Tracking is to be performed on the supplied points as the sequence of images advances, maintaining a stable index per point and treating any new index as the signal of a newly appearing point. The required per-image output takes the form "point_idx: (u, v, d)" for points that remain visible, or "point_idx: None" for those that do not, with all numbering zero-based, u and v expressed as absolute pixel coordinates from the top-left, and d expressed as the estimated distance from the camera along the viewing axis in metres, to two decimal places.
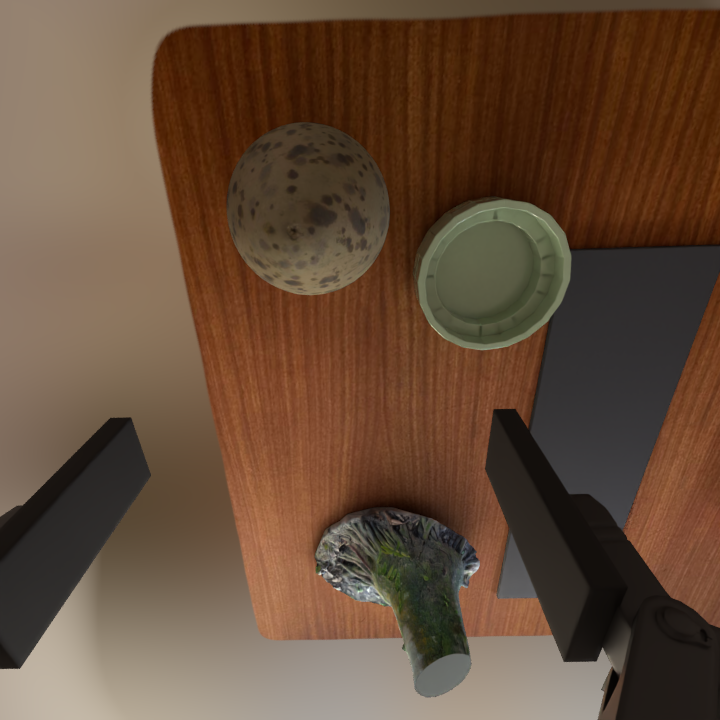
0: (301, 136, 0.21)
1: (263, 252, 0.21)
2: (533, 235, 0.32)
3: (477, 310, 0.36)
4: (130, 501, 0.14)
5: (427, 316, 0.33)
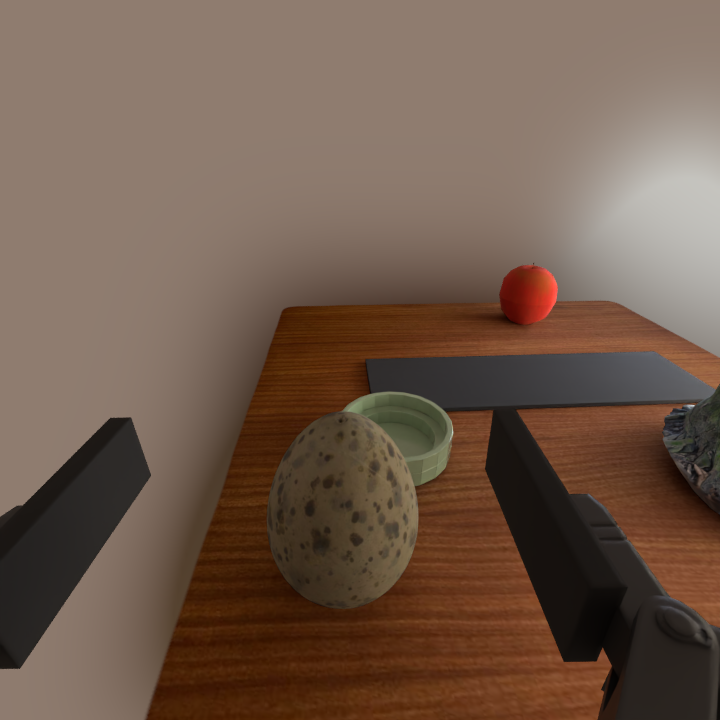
0: (277, 470, 0.27)
1: (360, 449, 0.23)
2: None
3: (425, 445, 0.44)
4: (130, 501, 0.14)
5: (431, 454, 0.38)
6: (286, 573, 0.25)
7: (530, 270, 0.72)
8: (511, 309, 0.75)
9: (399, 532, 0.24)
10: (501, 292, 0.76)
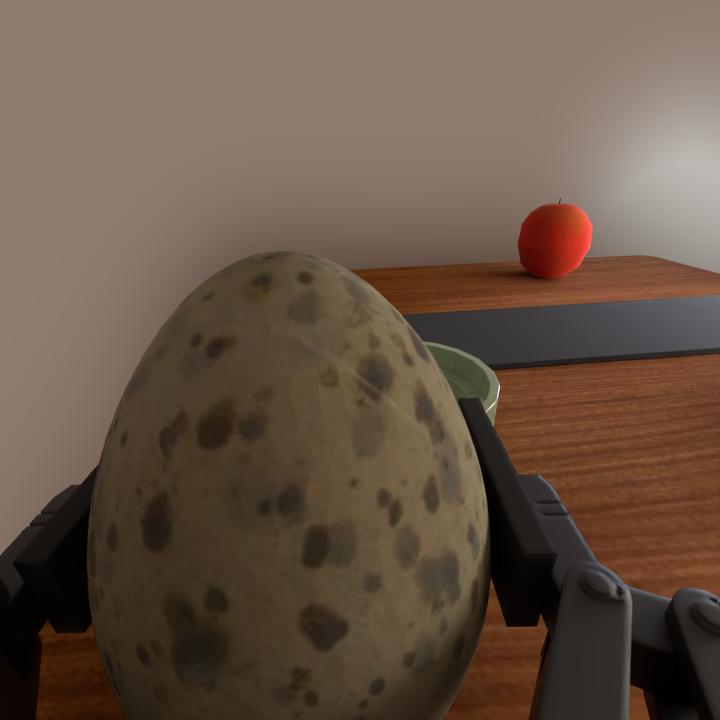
0: None
1: (328, 320, 0.07)
2: None
3: None
4: None
5: None
6: None
7: (557, 206, 0.57)
8: (535, 259, 0.59)
9: (461, 583, 0.08)
10: (520, 239, 0.61)
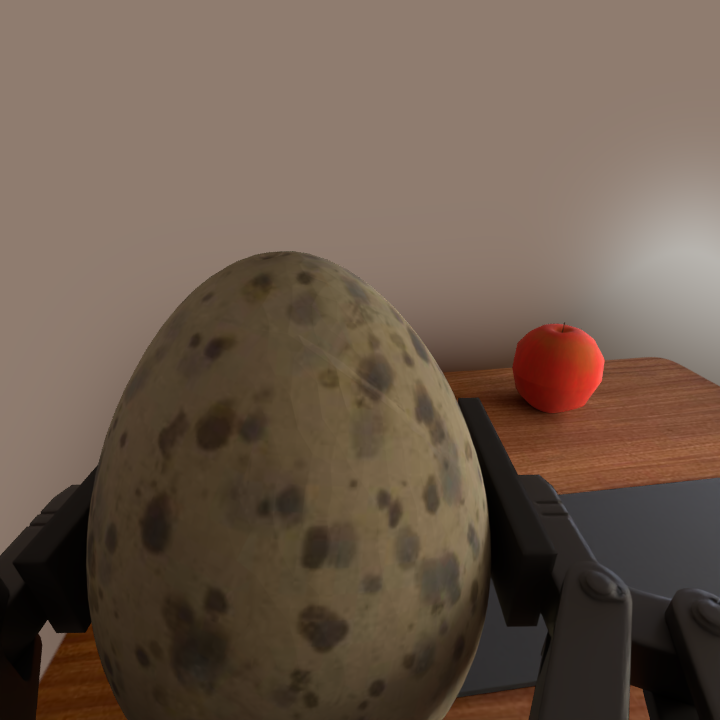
0: None
1: (327, 320, 0.07)
2: None
3: None
4: None
5: None
6: None
7: (561, 336, 0.46)
8: (534, 394, 0.48)
9: (461, 584, 0.08)
10: (516, 366, 0.50)
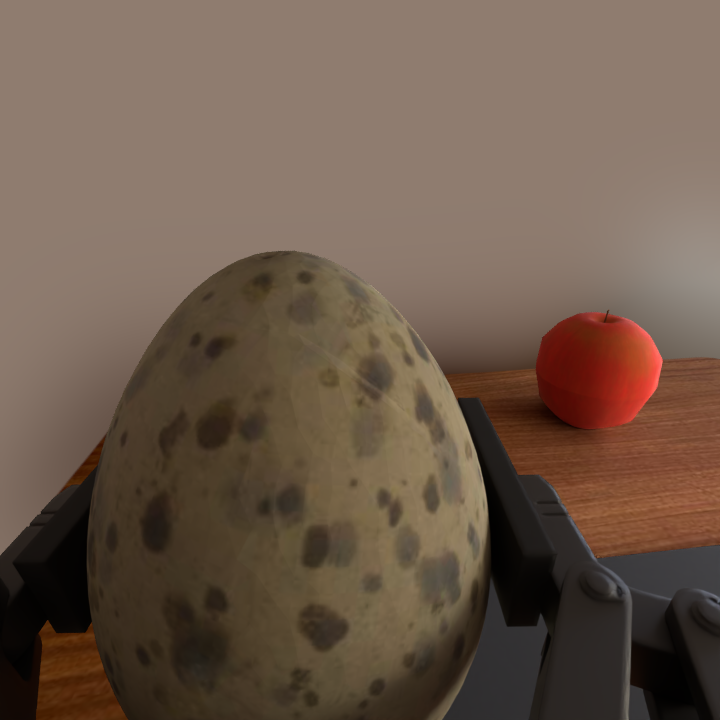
0: None
1: (328, 319, 0.07)
2: None
3: None
4: None
5: None
6: None
7: (605, 327, 0.34)
8: (566, 405, 0.37)
9: (461, 584, 0.08)
10: (541, 367, 0.38)
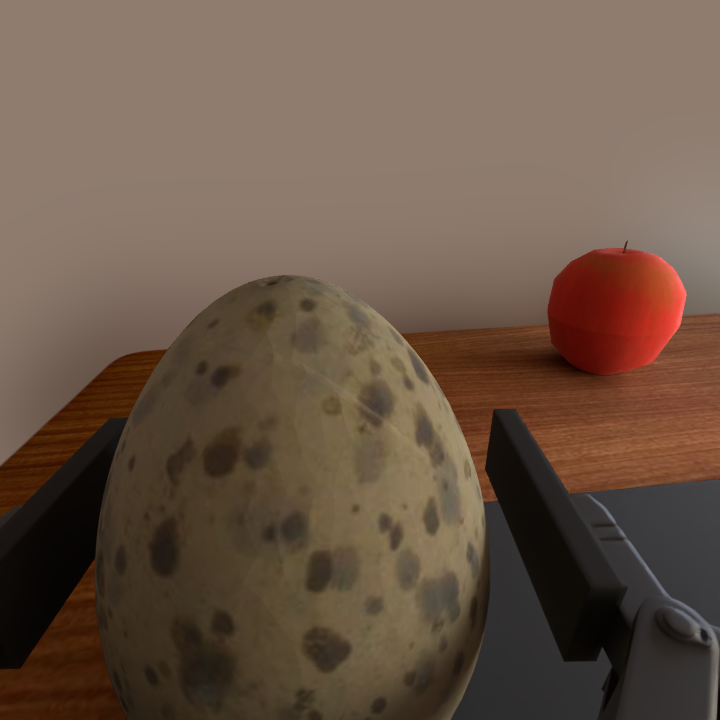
0: None
1: (330, 347, 0.07)
2: None
3: None
4: None
5: None
6: None
7: (624, 257, 0.32)
8: (581, 346, 0.34)
9: (460, 602, 0.08)
10: (553, 308, 0.36)
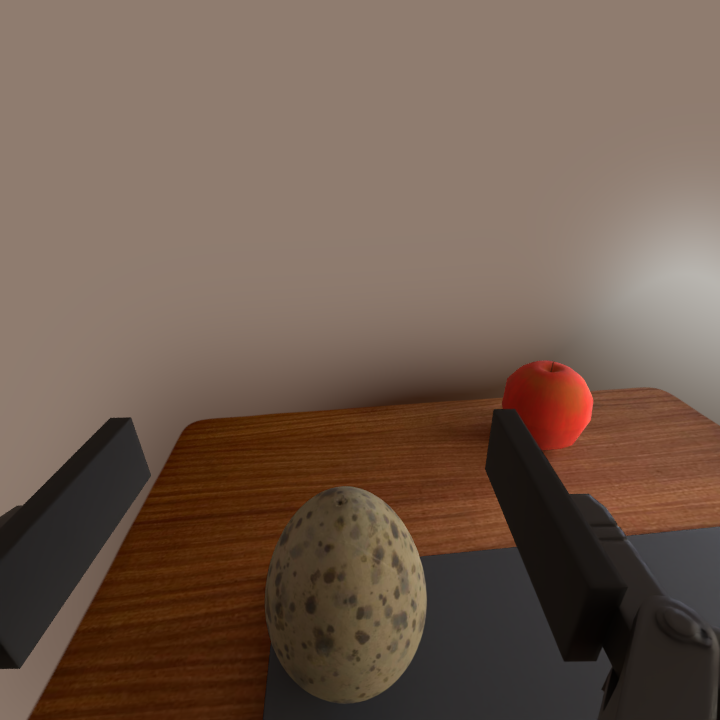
0: (274, 554, 0.25)
1: (362, 536, 0.22)
2: None
3: None
4: (130, 501, 0.14)
5: None
6: (288, 670, 0.23)
7: (549, 375, 0.46)
8: None
9: (408, 621, 0.23)
10: (505, 403, 0.50)
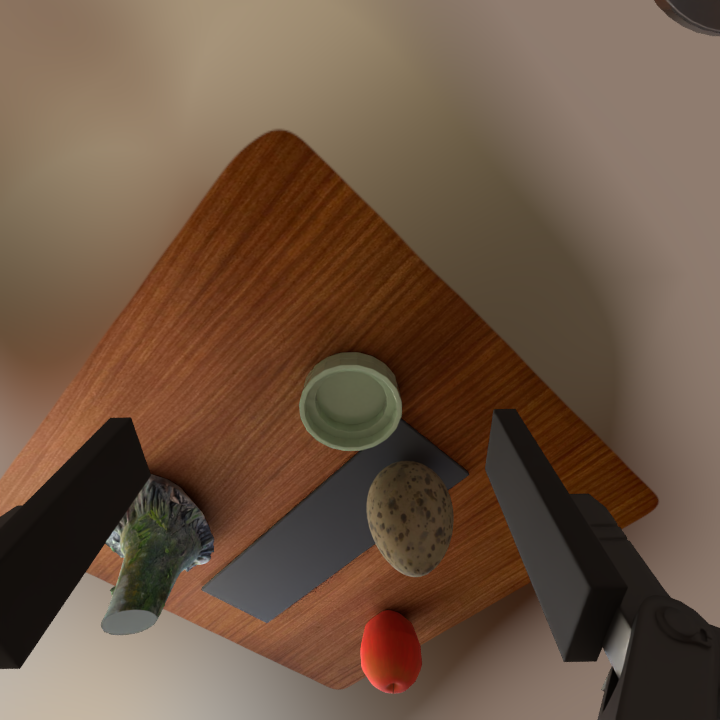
0: (442, 518, 0.45)
1: (397, 561, 0.43)
2: (388, 402, 0.48)
3: (332, 413, 0.51)
4: (130, 501, 0.14)
5: (301, 400, 0.46)
6: (408, 473, 0.48)
7: (390, 679, 0.61)
8: (394, 621, 0.67)
9: (369, 525, 0.48)
10: (414, 641, 0.65)
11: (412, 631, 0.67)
